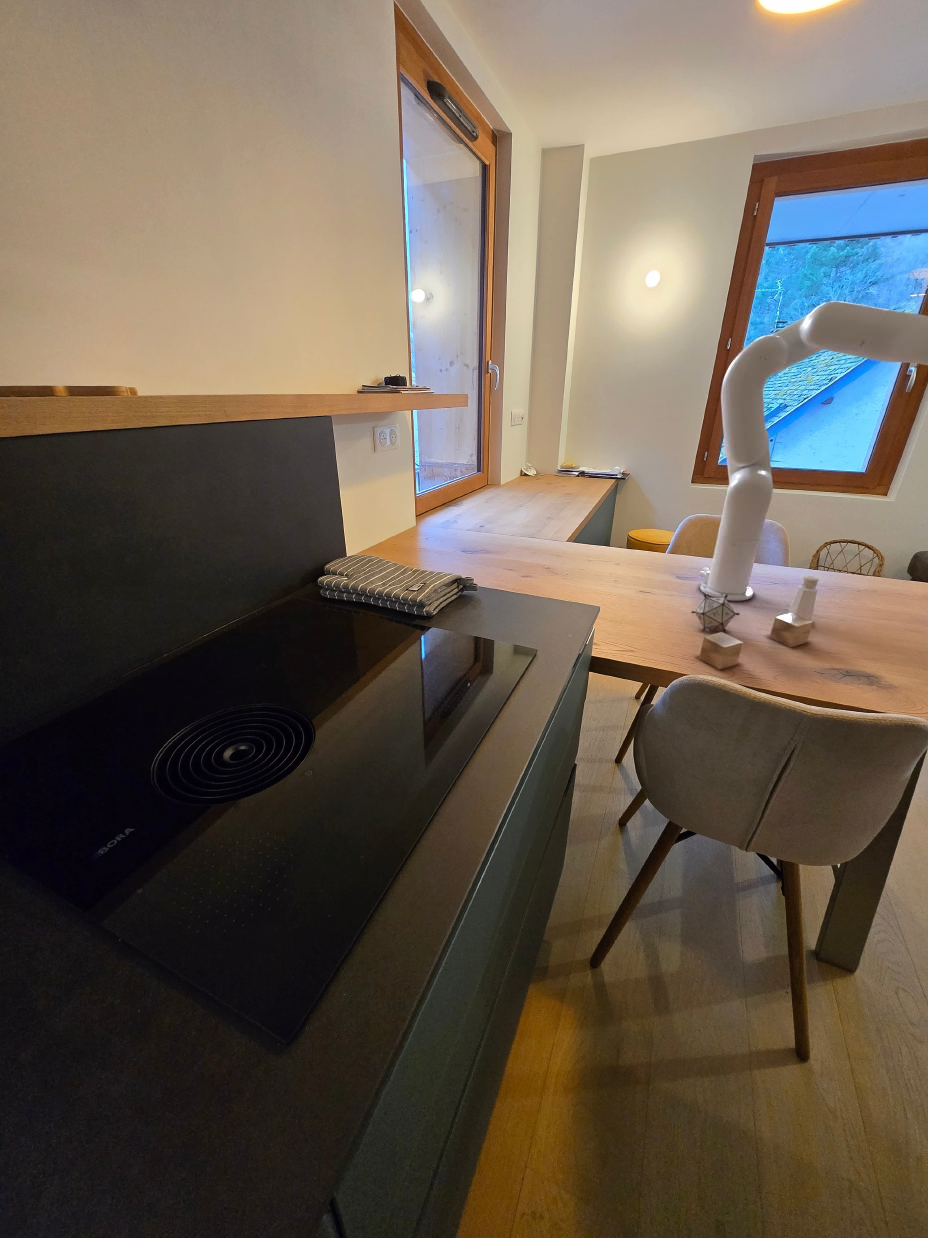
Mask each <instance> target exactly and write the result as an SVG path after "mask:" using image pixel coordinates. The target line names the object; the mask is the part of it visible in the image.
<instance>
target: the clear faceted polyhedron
mask: <svg viewBox="0 0 928 1238" xmlns="http://www.w3.org/2000/svg"><path fill="white" fill-rule="evenodd" d="M727 596H728V594H727V595H725V597H712V596H710V597H709V596H708V597H707V594H703V597H704V599H703V600H702V602H701V603H700V604H699V606H698V607H697V608H696V609H695V611H694V610H692V611H690V614H695V616H696V618H697V619H698V620H699V622H700V624H701V626H702V629H701V632H705V630H707V629H708V630H709V629H710V630H712V629H713V630H716V629H717V630H723V632H727V628H726V627H727V626H728V625H729V623H730V622H732V620H733V618H734V617H735V616H740V613H739V612H736V611H735V610H734V608H733V607H732V606H731V604H730V602H729V600H727V599H726V598H727Z"/></svg>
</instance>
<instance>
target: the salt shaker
mask: <svg viewBox="0 0 928 1238" xmlns="http://www.w3.org/2000/svg"><path fill="white" fill-rule="evenodd" d="M819 581H820V580H819V578H818V577H816V576H810V575H806V576H804V577H803V580H802V584H801V585H799V586H798V588H797V590H796V592H795V595H794V598H793V599H792V601H791V604H790V607H789V609H788V611H787V613H786V614H789V613H792V614H795V615H797V616H800V617H802V618H805V619H807V620H810V621H812V620H813V619H812V618H813V613H814V610H815V609H814V608H815V603H816V599H817V593H818V588H817V585H818V582H819Z"/></svg>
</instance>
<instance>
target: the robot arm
mask: <svg viewBox="0 0 928 1238" xmlns="http://www.w3.org/2000/svg"><path fill="white" fill-rule="evenodd" d="M821 351H828V352H834V353H838V354H844V355H849V356H852V357H858V358H863V359H867V360H872V361H877V362H884V363H910V364H917V365H925V366H928V315H925V314H918V313H911V312H905V311H898V310H892V309H886V308H881V307H875V306H871V305H870V306H869V305H864V304H857V303H853V302H852V303H851V302H846V301H840V300H832V301H827V302H823V303H822V304H820V305H818V306H817V307H815V308H814V309H813V310H812V311H811V312H810V313H808V314H807V315H805V316H803V317H802V318H800V319H798V320H796V321H794V322H793V323H791V324H789V325H786V326H785V327H783V328H781V329H779V330H778V331H776V332H774V333H772V334H767V335H763V336H760V337H758V338H756V339H754V340H753V341H752V342H750V343H749V344H748V345H747V346H745V348H744V349H742V350H741V352H739V353H738V354H737V356H735V358H734V359H733V360H732V362H731V363H730V365H729V366H728V368H727V370H726V373H725V374H724V377H723V380H722V384H721V390H720V401H721V402H720V405H721V419H722V420H721V421H722V430H723V452H724V455H725V457H726V465H727V475H728V487H727V490H726V494H725V495H726V496H725V499H724V503H723V504H724V505H723V508H722V515H721V519H720V524H719V528H718V533H717V537H716V541H715V542H716V543H715V547H714V552H713V555H712V561H711V565H710V568H708V567H705V566H703V567H702V568H701V569H700V570H699V571H698V573H697V575H698V577H699V576H700V577H702V578H704V581H701V584H700V586H699V589H700V590H701V592H703V594H704V595H706V596H708V597H709V596H710V597H725V595H727V594H728V596H727V598H726V599H727V601H733V602H736V601H738V602H739V601H740V602H741V601H746V600H749V599H751V598H752V597H753V594H754V591H753V589H752V588H751V587H749V583H750V580H751V579H750V578H751V576H752V572H753V568H754V564H755V560H756V556H757V552H758V548H759V544H760V541H761V536H762V532H763V530H764V529H763V528H764V524H765V521H766V517H767V514H768V511H769V508H770V505H771V502H772V499H773V494H774V493H773V492H774V483H773V478H772V477H773V476H772V465H771V464H772V463H771V451H770V437H769V432H768V430H767V428H766V420H765V403H764V401H765V400H764V389H765V385H766V383H767V381H768V379H769V378H771V377H772V376H774V375H776V374H778V373H780V372H782V371H784V370H786V369H788V368H790V367H792V366H794V365H796V364H798V363H800V362H802V361H804V360H805V359H808V358H810V357H812V356H814V355H816V354H817V353H820V352H821Z"/></svg>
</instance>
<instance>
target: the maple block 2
mask: <svg viewBox="0 0 928 1238" xmlns="http://www.w3.org/2000/svg"><path fill="white" fill-rule="evenodd" d="M813 625H814V622H813V621H812V620H811V621H810V620H807V619H805V618H802V617H800V616H797V615H795V614H792V613H789V614H787V613H785V614H782V615H778V616H775V618H774V620H773V624H772V628H771V631H770V634H769V639H771V640H774V641H776V642H778V643H781V644H783V645H785V646H787V647H788V648H793V647H796V646H799V645H803V644H806V643H807V641H808V639H809V637H810V633H811V629H812V626H813Z"/></svg>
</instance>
